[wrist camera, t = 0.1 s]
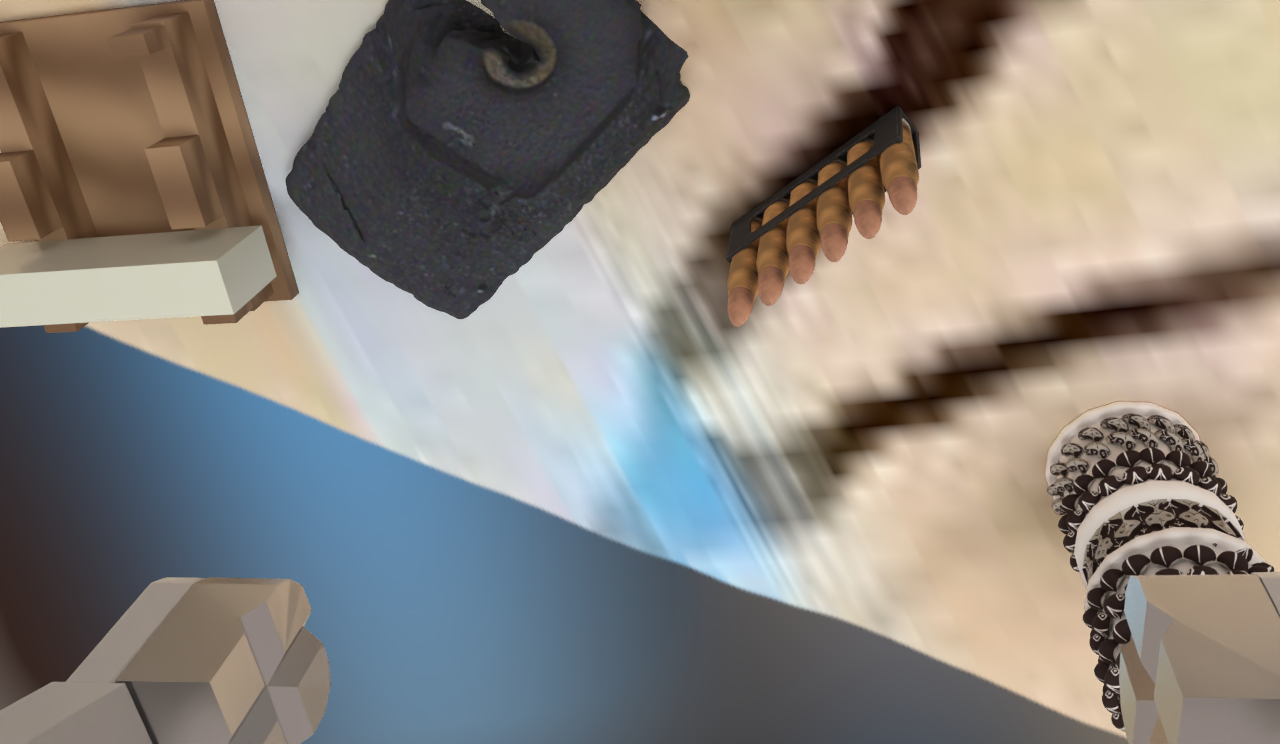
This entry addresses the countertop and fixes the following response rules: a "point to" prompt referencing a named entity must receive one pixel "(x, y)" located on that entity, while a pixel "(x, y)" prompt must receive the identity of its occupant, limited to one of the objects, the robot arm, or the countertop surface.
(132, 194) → the walnut drying rack
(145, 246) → the cream rectangular bar
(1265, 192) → the countertop surface
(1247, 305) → the countertop surface
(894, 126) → the ammunition clip
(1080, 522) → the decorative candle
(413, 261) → the dark slate chunk
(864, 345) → the countertop surface
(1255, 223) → the countertop surface
